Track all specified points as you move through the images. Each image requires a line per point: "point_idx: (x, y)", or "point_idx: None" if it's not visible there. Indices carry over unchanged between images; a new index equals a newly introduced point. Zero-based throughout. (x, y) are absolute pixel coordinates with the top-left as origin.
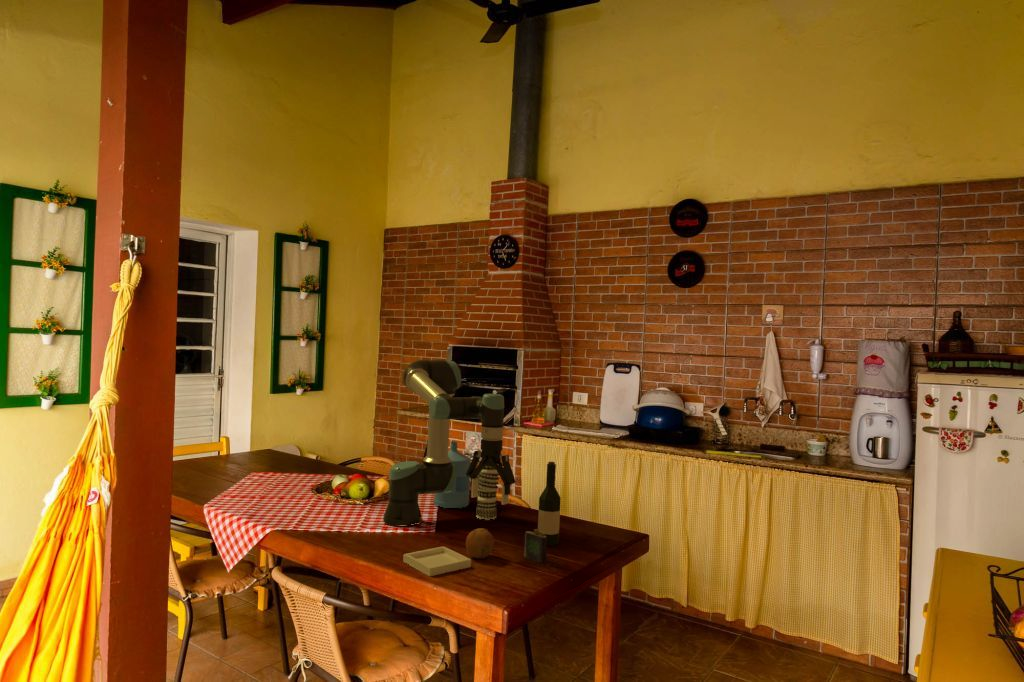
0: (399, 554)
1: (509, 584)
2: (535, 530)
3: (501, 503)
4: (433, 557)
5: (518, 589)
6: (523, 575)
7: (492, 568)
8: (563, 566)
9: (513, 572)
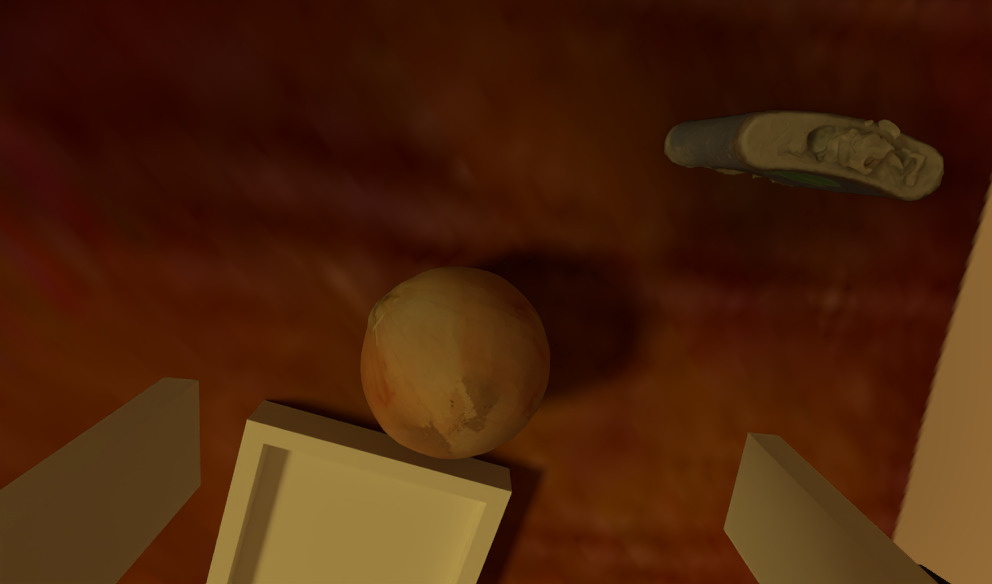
0: None
1: None
2: (863, 161)
3: (731, 539)
4: (299, 519)
5: None
6: (781, 402)
7: (607, 418)
8: None
9: (722, 399)
